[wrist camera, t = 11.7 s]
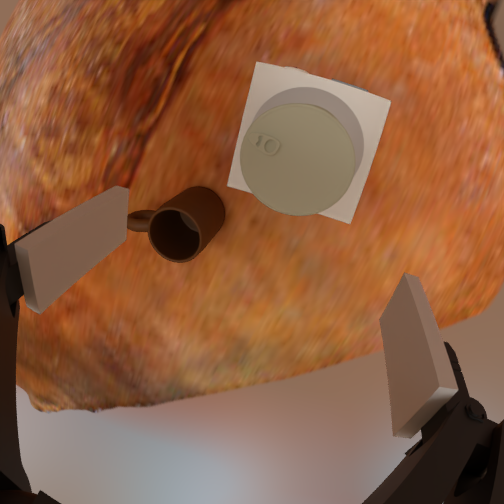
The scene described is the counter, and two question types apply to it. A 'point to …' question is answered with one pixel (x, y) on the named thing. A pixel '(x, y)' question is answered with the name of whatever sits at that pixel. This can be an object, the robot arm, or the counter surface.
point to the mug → (181, 224)
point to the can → (297, 159)
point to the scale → (330, 98)
